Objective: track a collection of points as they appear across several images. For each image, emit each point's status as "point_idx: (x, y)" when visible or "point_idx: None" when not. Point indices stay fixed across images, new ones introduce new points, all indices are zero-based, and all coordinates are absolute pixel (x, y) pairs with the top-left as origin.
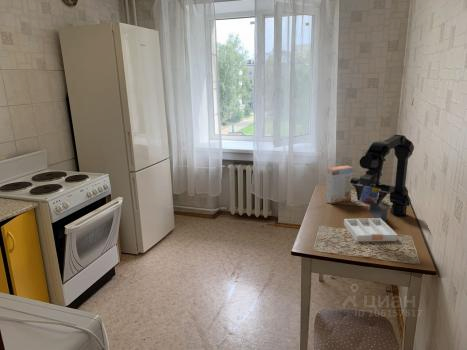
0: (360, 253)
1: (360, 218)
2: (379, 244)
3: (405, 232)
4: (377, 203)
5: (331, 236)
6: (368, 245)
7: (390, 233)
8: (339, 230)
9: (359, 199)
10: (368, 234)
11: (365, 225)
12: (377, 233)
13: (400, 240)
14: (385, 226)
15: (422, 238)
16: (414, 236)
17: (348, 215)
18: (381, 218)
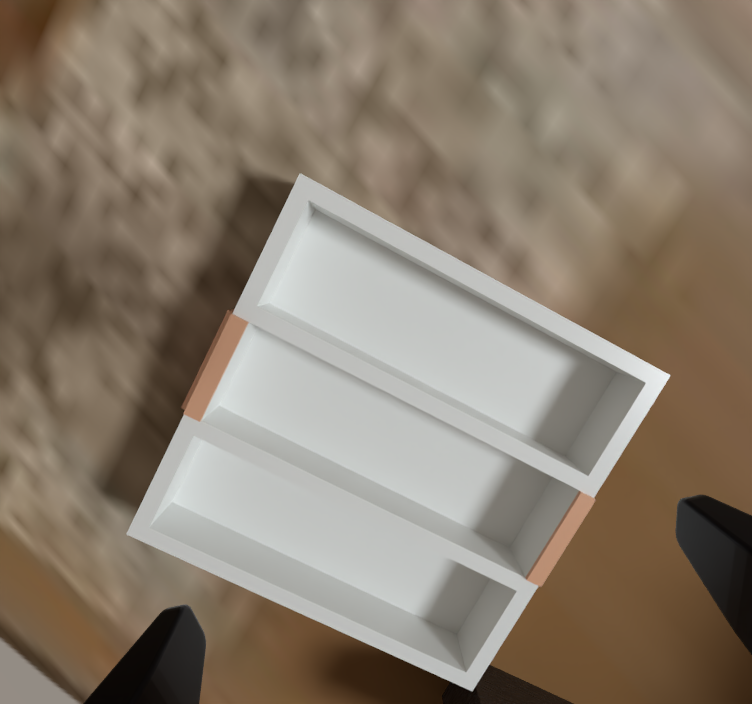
0: (121, 32)
1: (574, 523)
2: (174, 324)
3: (235, 682)
4: (134, 656)
5: (512, 53)
6: (204, 224)
7: (243, 544)
8: (563, 227)
9: (694, 553)
10: (280, 315)
11: (493, 504)
12: (304, 452)
13: None
14: (339, 602)
15: None
16: None
17: None
18: (473, 702)
